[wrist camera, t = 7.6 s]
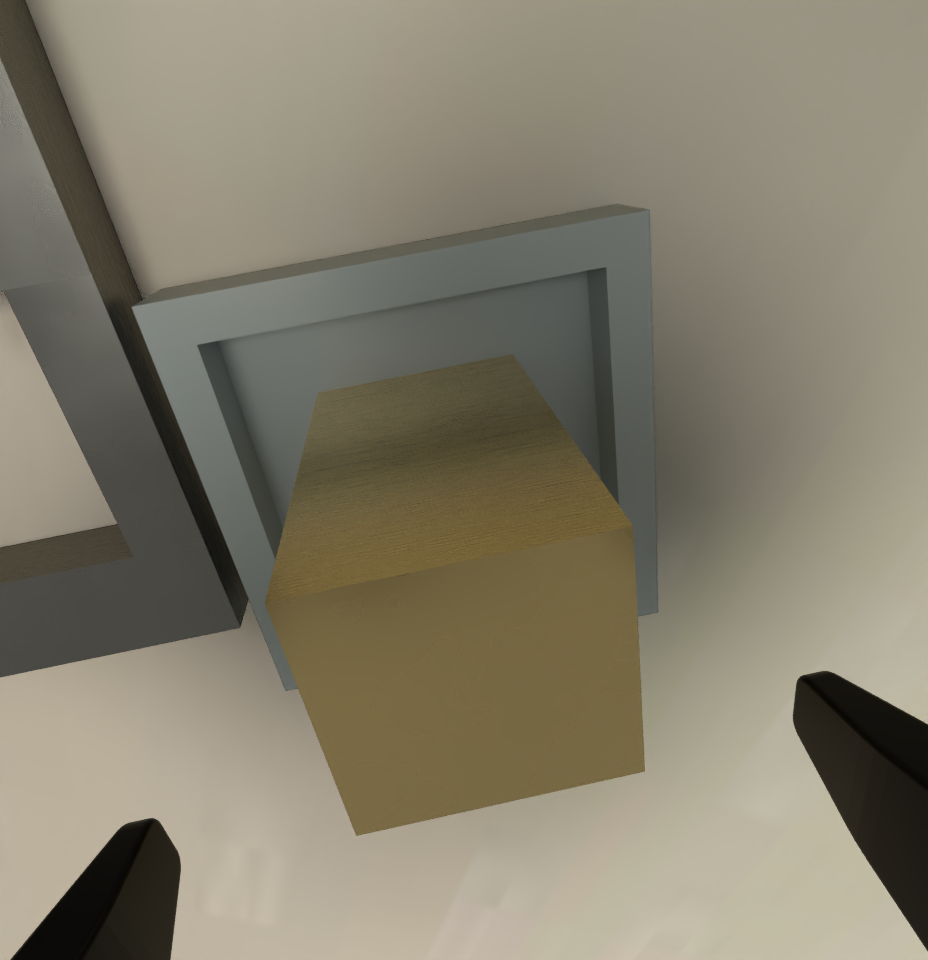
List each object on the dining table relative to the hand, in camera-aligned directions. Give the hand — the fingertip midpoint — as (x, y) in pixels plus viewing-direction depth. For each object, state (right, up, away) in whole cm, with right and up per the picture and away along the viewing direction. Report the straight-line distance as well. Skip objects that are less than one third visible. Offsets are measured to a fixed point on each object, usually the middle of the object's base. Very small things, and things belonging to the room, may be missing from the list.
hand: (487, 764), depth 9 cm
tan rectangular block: (-1, +4, +8) cm, 10 cm away
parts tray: (-1, +5, +9) cm, 10 cm away
